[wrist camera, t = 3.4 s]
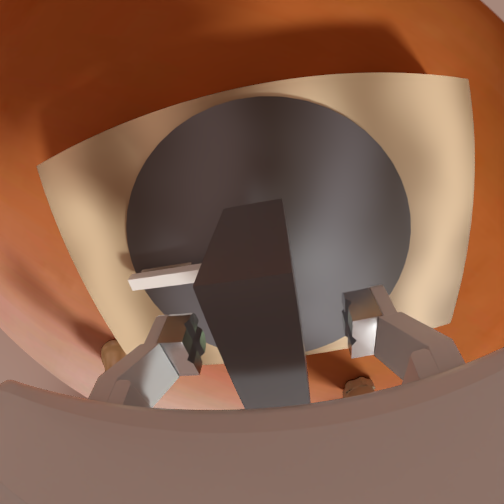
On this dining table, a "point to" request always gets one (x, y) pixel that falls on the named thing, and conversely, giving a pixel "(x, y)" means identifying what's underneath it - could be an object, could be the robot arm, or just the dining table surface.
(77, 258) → the wooden record turntable
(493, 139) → the dining table surface
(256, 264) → the lever
